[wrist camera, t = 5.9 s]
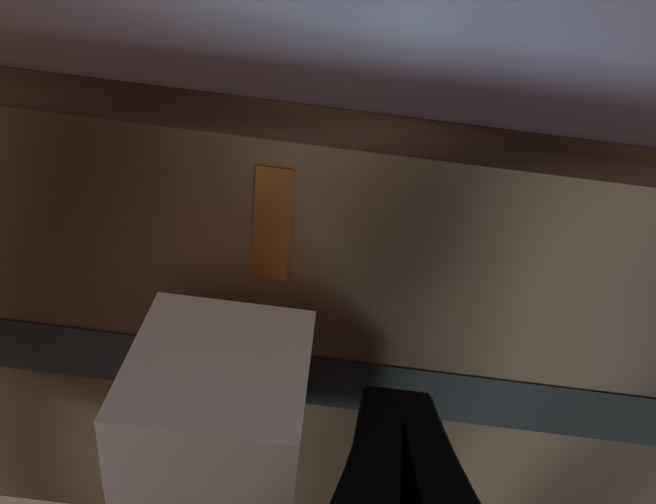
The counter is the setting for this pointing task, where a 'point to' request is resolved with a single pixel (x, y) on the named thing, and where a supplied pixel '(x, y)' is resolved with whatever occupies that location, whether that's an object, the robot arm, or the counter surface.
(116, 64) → the counter surface
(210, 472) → the fader
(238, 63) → the counter surface
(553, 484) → the brown flat slab
